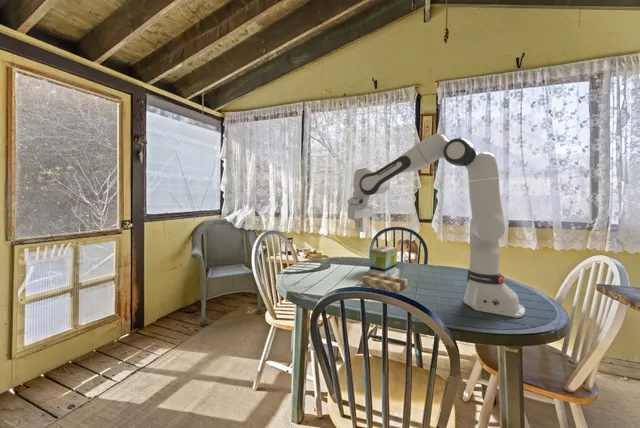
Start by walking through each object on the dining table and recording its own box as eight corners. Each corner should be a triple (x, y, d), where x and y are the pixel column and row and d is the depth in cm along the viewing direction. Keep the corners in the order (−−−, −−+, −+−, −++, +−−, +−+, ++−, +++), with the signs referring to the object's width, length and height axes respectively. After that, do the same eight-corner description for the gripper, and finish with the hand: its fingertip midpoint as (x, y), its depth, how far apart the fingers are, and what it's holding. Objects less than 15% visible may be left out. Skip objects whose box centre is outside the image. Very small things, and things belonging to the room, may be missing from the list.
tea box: (385, 278, 162) (386, 251, 161) (368, 275, 168) (369, 249, 167) (396, 272, 174) (397, 247, 173) (380, 269, 180) (381, 245, 179)
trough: (407, 287, 148) (407, 279, 148) (397, 293, 140) (397, 285, 139) (373, 279, 160) (373, 272, 160) (361, 284, 151) (362, 276, 151)
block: (367, 231, 157) (367, 217, 156) (362, 232, 153) (362, 218, 153) (359, 230, 160) (360, 217, 159) (355, 231, 156) (355, 217, 155)
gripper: (366, 199, 165) (365, 224, 166) (345, 200, 149) (345, 228, 150) (376, 199, 161) (376, 225, 162) (356, 200, 145) (355, 229, 146)
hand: (360, 226), depth 156 cm, fingers closed on block, 4 cm apart
